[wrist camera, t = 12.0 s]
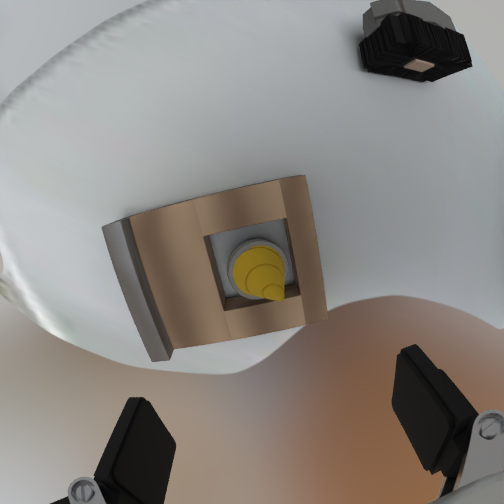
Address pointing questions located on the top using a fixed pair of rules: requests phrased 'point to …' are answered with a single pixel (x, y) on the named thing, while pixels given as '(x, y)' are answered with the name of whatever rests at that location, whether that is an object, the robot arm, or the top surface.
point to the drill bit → (258, 270)
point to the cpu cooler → (412, 41)
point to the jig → (213, 267)
